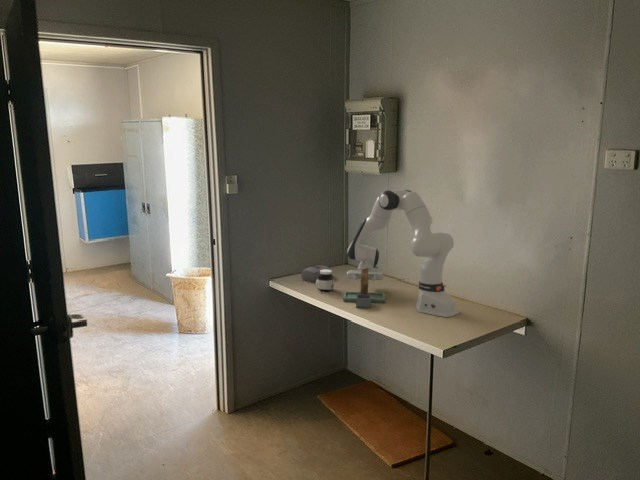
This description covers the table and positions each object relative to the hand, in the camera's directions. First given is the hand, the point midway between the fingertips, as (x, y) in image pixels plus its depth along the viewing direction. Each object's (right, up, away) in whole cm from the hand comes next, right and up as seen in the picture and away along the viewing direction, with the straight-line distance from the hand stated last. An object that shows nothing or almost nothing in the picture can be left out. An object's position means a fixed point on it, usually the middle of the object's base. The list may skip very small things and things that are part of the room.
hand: (364, 278), depth 276 cm
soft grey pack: (-26, -3, +45) cm, 52 cm away
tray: (0, -11, +3) cm, 12 cm away
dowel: (0, -10, +3) cm, 11 cm away
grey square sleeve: (-1, -13, -9) cm, 16 cm away
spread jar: (-22, -8, +21) cm, 31 cm away
